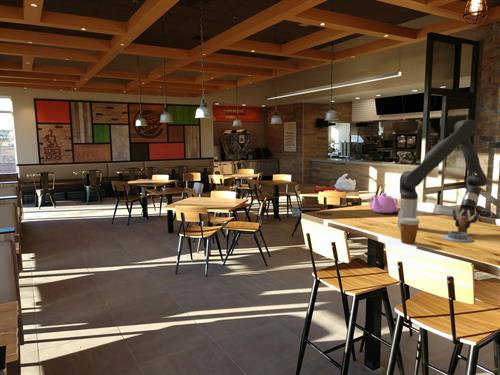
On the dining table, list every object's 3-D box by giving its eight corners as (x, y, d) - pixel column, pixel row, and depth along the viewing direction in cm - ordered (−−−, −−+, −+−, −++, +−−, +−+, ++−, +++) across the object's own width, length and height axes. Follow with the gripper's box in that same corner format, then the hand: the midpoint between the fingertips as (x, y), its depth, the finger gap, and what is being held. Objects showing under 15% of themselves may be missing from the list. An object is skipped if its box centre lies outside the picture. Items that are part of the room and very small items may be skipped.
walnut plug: (460, 235, 210) (461, 217, 209) (456, 233, 214) (457, 215, 213) (468, 235, 210) (469, 217, 209) (463, 233, 215) (465, 215, 213)
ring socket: (451, 242, 194) (451, 236, 194) (437, 235, 208) (437, 230, 208) (478, 242, 194) (479, 236, 194) (462, 235, 208) (463, 230, 208)
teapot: (359, 212, 279) (360, 193, 278) (375, 208, 294) (376, 190, 292) (388, 216, 263) (389, 196, 261) (403, 212, 277) (404, 193, 276)
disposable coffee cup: (418, 245, 187) (420, 221, 186) (397, 243, 191) (399, 219, 189) (418, 241, 196) (419, 217, 195) (398, 239, 199) (399, 216, 198)
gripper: (454, 197, 220) (446, 221, 213) (483, 199, 211) (475, 224, 203) (456, 205, 225) (448, 228, 217) (484, 208, 215) (477, 233, 208)
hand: (461, 226), depth 210 cm, fingers closed on walnut plug, 4 cm apart
